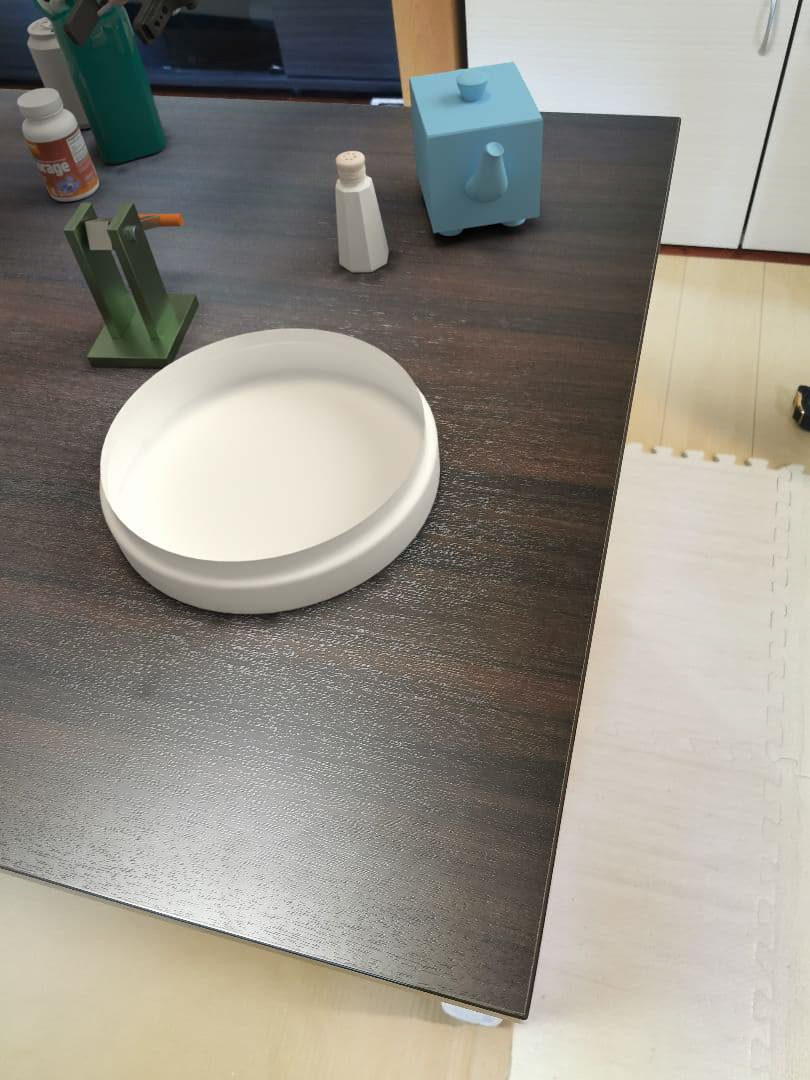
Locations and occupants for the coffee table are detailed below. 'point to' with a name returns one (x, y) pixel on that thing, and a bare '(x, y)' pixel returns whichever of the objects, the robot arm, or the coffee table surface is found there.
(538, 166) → the teapot
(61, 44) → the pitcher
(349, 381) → the white round dish
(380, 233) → the salt shaker
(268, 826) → the coffee table surface
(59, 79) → the can
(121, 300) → the bracket
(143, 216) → the lever
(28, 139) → the pill bottle
